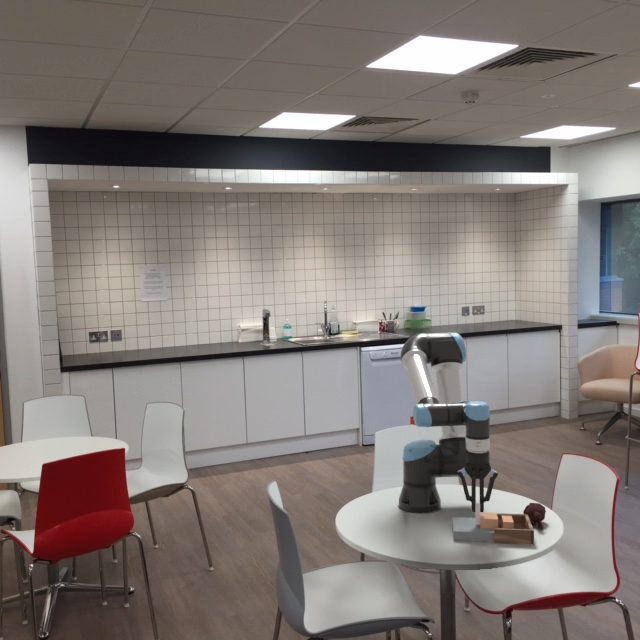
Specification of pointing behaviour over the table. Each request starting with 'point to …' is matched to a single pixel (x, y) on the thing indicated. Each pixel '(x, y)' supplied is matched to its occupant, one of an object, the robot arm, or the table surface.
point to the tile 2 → (507, 522)
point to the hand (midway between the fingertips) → (477, 521)
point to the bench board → (470, 530)
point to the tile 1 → (488, 520)
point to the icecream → (535, 513)
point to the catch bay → (515, 530)
